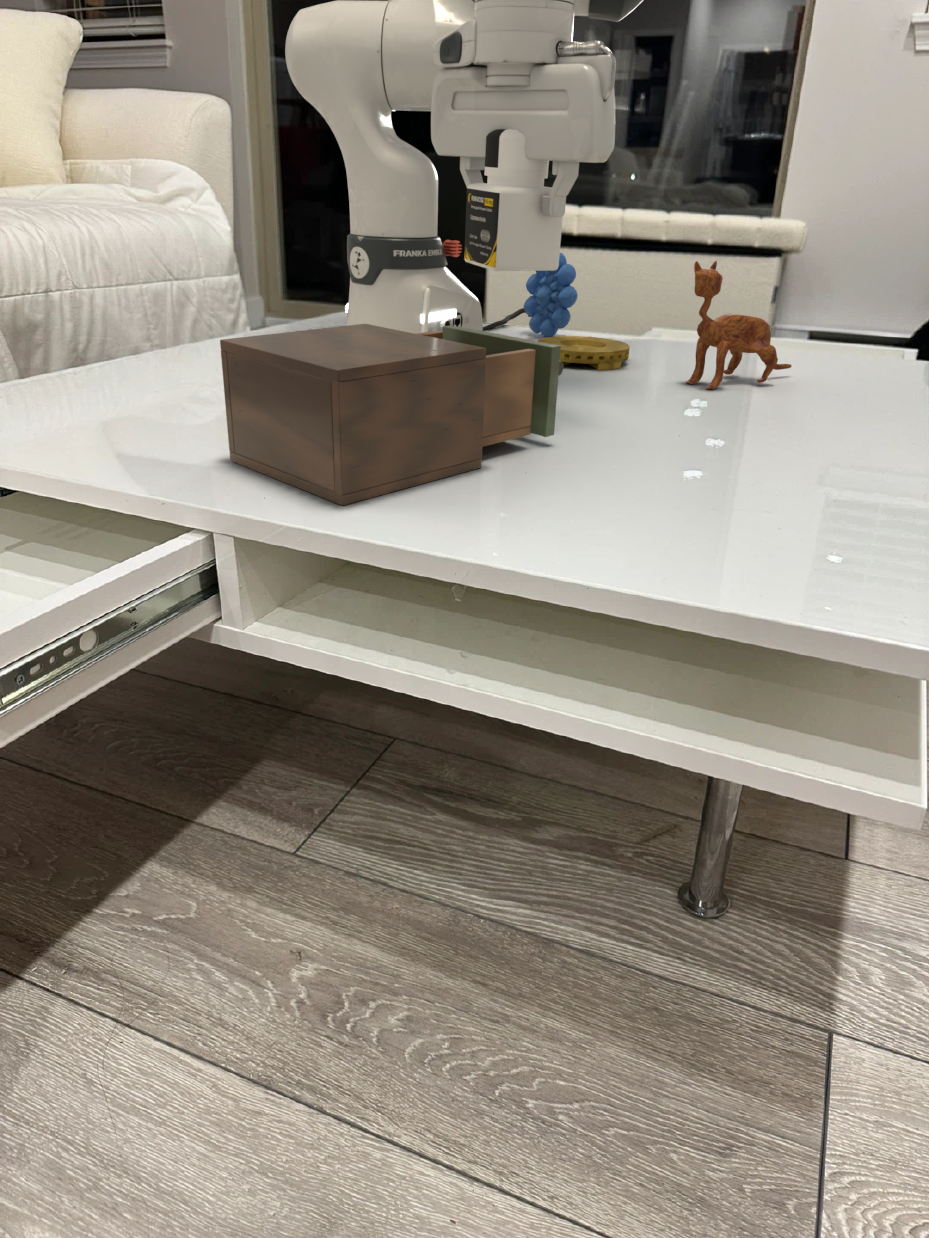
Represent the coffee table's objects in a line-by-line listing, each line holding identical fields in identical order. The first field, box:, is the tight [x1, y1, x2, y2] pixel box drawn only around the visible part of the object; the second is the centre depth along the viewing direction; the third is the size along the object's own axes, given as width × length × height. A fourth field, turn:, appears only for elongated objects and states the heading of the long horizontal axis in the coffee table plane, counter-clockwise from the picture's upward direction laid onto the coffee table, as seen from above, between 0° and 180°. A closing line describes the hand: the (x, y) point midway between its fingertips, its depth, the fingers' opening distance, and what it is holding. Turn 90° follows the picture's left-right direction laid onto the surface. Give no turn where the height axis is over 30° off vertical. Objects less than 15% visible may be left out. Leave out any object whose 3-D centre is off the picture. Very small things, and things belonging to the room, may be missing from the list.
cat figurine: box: [685, 260, 792, 390], centre depth 106 cm, size 18×7×14 cm, turn 121°
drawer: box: [417, 325, 564, 448], centre depth 80 cm, size 18×13×8 cm
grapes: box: [523, 252, 579, 338], centre depth 132 cm, size 12×7×12 cm, turn 30°
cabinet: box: [219, 324, 486, 506], centre depth 72 cm, size 15×15×10 cm
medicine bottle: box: [463, 129, 564, 272], centre depth 87 cm, size 7×7×12 cm
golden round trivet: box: [537, 335, 631, 371], centre depth 118 cm, size 12×12×2 cm
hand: (514, 213), depth 87 cm, fingers closed on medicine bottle, 8 cm apart
